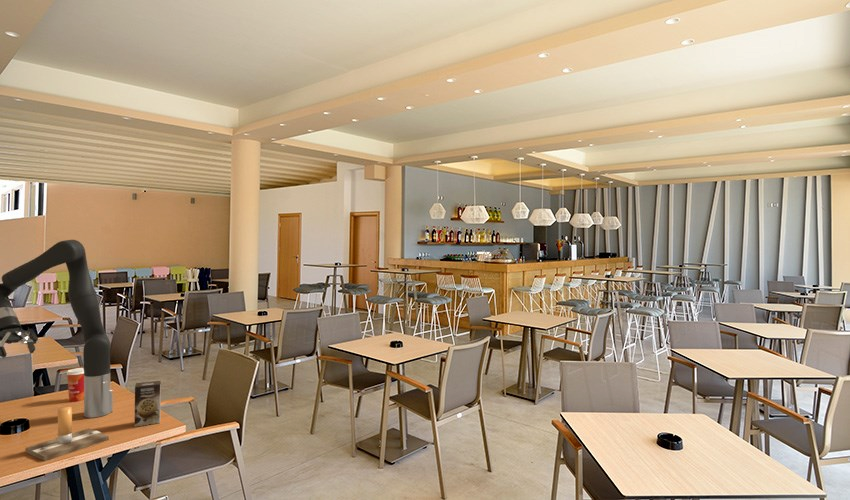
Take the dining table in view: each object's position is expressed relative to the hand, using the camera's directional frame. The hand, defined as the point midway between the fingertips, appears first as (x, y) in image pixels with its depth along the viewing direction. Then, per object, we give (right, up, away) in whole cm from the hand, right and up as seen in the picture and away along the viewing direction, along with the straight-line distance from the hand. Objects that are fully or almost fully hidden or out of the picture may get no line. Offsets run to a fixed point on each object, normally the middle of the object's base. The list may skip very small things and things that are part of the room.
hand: (19, 354), depth 180 cm
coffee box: (+42, -31, +13) cm, 53 cm away
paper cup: (-7, -30, +40) cm, 51 cm away
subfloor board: (+26, -31, -9) cm, 41 cm away
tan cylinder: (+25, -29, -10) cm, 40 cm away
